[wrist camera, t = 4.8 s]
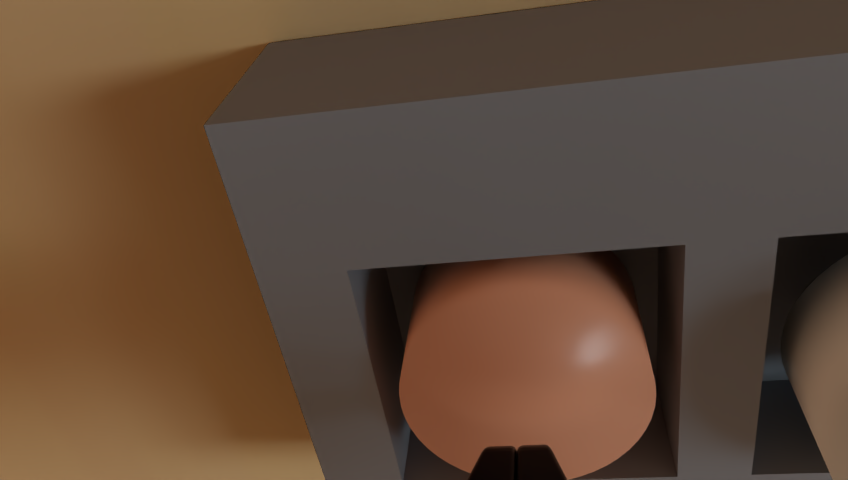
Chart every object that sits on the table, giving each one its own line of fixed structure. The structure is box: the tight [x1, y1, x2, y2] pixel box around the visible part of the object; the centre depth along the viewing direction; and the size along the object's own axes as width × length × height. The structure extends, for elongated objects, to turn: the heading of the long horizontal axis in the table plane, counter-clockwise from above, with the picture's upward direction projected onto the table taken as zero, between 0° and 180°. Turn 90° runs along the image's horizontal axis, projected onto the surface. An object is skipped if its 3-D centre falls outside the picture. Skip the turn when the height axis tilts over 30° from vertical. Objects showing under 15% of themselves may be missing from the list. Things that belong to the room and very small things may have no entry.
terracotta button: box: [399, 250, 656, 480], centre depth 11 cm, size 4×4×2 cm
